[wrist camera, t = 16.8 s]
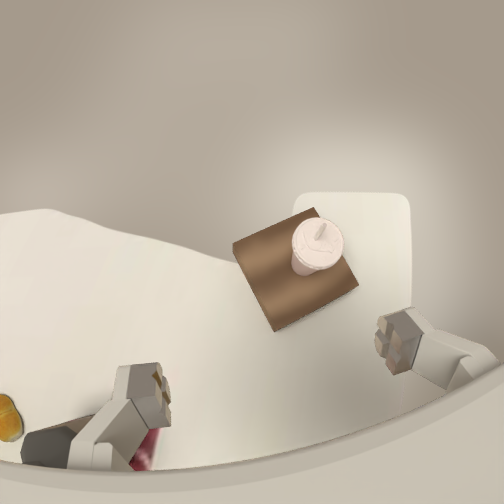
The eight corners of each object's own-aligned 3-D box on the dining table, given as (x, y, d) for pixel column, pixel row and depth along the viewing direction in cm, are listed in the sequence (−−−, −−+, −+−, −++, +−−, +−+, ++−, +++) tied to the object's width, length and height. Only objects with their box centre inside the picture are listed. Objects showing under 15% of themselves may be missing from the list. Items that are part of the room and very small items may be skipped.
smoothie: (296, 234, 49) (317, 190, 35) (332, 258, 48) (366, 221, 35) (273, 269, 47) (288, 234, 34) (311, 293, 46) (340, 268, 33)
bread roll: (6, 386, 41) (-7, 386, 38) (30, 429, 40) (18, 432, 36) (-15, 405, 39) (-28, 406, 36) (8, 446, 37) (-5, 450, 34)
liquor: (72, 419, 41) (-61, 450, 13) (118, 408, 43) (-5, 448, 14) (93, 469, 39) (-19, 539, 10) (140, 460, 40) (47, 550, 12)
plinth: (350, 290, 51) (359, 284, 47) (273, 331, 48) (277, 329, 44) (308, 217, 54) (313, 207, 51) (232, 252, 52) (232, 243, 48)
